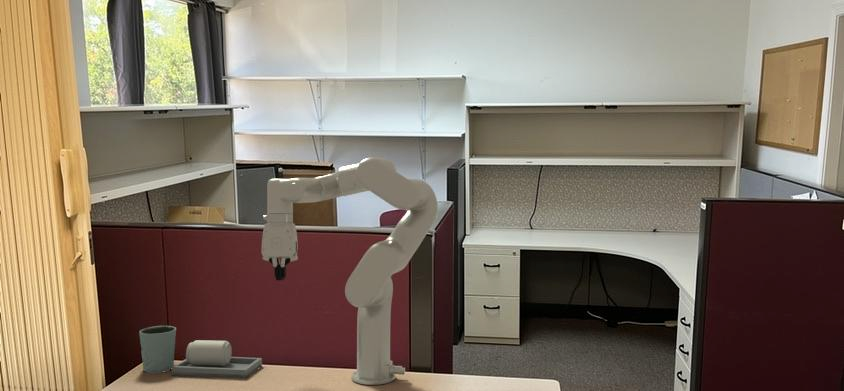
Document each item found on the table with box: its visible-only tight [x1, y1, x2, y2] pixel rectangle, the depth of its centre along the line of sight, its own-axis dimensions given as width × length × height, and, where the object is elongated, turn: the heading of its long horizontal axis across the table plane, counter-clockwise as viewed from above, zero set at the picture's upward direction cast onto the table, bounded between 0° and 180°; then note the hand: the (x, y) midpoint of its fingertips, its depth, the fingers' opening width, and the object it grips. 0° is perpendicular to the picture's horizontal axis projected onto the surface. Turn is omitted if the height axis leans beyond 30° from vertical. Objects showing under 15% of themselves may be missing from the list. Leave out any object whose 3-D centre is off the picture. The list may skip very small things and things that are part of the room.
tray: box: [171, 356, 263, 380], centre depth 185 cm, size 22×12×2 cm, turn 83°
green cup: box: [138, 325, 177, 374], centre depth 186 cm, size 10×10×12 cm
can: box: [185, 339, 233, 366], centre depth 187 cm, size 8×8×12 cm
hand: (280, 279), depth 188 cm, fingers closed
